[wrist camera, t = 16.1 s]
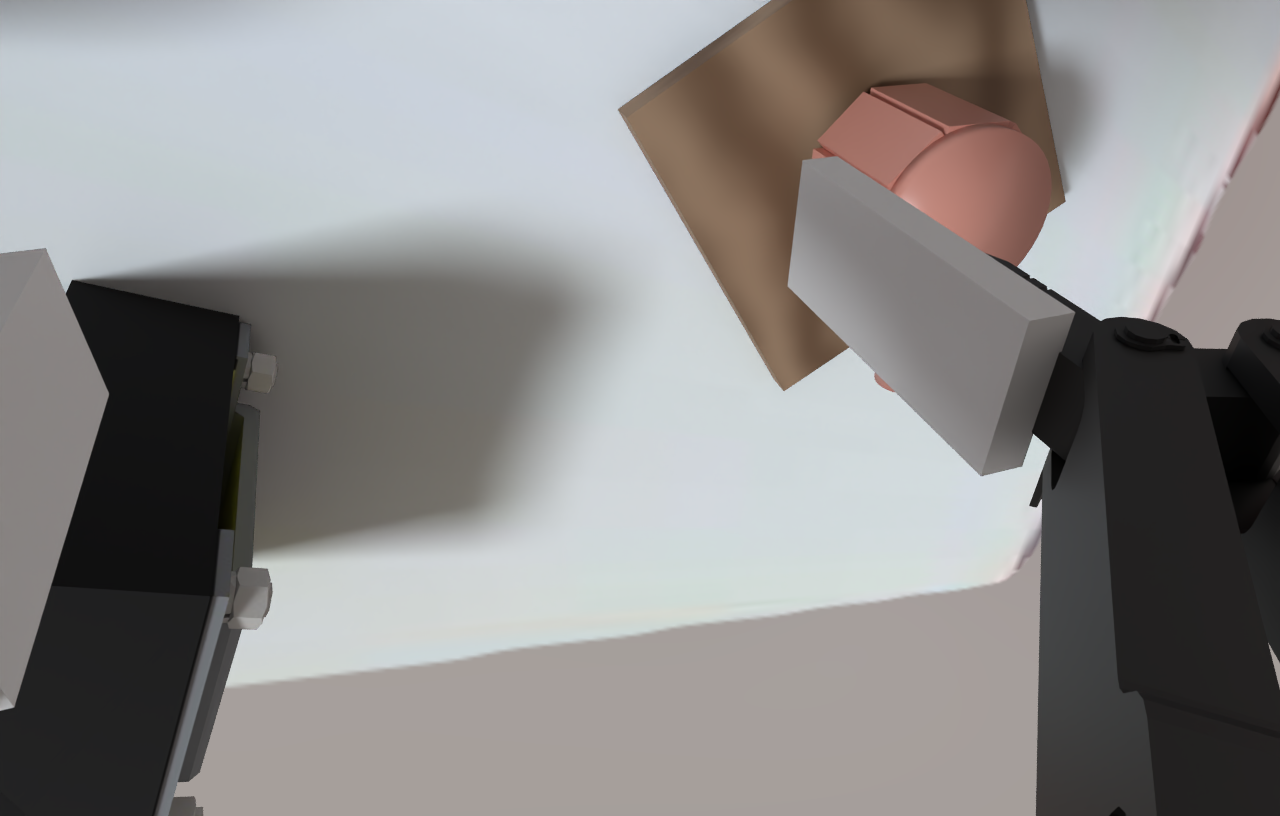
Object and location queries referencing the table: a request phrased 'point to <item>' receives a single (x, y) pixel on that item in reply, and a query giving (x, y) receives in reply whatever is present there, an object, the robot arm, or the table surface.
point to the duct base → (813, 131)
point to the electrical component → (145, 568)
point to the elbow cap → (948, 165)
